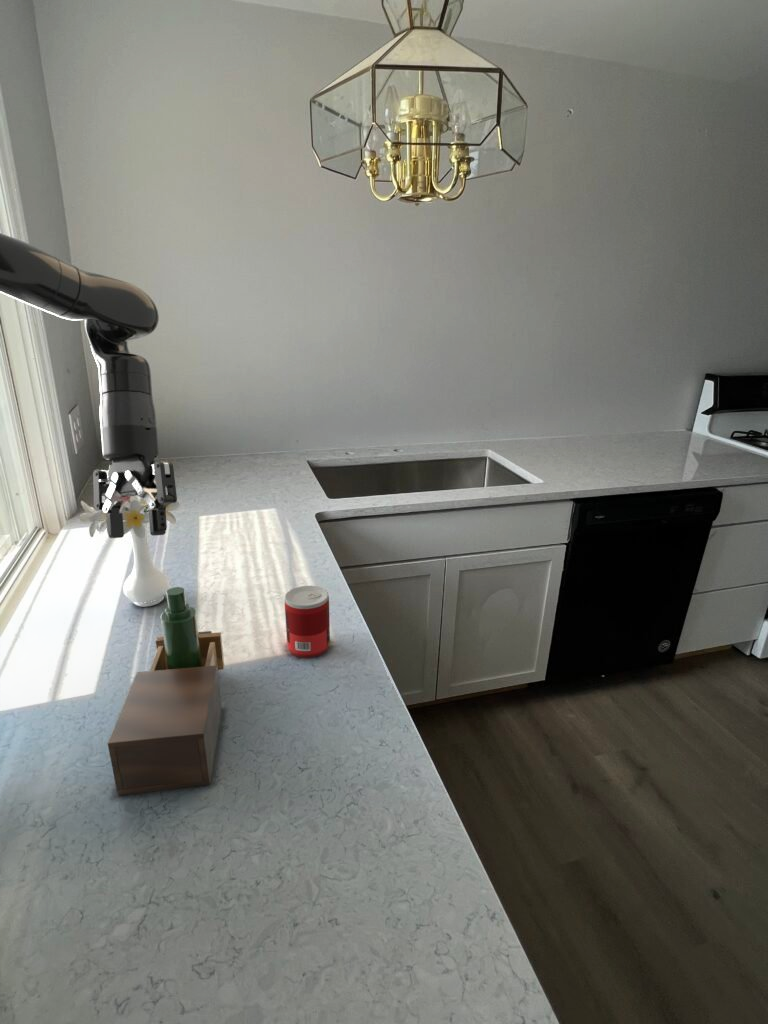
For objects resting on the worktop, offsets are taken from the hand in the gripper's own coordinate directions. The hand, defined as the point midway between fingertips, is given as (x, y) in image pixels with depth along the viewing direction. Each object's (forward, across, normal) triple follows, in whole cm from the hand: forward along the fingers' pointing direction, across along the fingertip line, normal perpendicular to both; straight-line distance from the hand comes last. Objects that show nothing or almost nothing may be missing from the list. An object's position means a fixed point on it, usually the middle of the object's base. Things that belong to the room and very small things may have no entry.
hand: (137, 536), depth 82 cm
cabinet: (+31, +4, 0) cm, 31 cm away
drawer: (+25, -2, +10) cm, 27 cm away
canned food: (+23, +9, +29) cm, 39 cm away
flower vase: (+14, -30, +28) cm, 43 cm away
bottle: (+25, -2, +9) cm, 26 cm away
